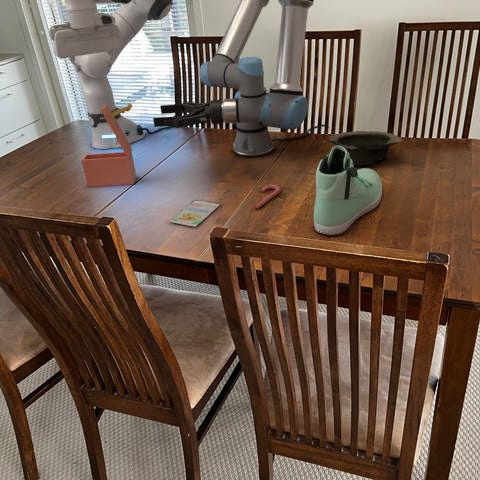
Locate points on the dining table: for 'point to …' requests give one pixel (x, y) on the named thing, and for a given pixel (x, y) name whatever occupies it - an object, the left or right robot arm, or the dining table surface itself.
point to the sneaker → (343, 192)
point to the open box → (109, 169)
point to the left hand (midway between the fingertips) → (94, 69)
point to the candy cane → (262, 202)
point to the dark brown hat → (366, 145)
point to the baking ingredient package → (194, 213)
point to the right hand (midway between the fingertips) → (157, 115)
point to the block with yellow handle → (117, 126)
